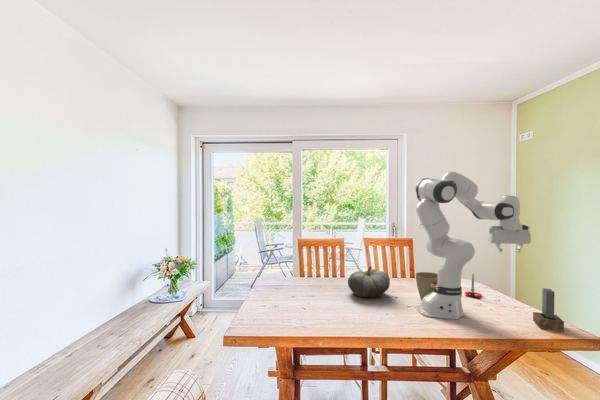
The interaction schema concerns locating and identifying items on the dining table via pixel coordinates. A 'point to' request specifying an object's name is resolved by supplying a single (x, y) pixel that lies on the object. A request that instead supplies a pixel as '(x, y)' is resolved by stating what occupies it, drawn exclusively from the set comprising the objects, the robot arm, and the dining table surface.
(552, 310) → the gray rectangular bar
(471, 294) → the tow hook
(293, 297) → the dining table surface
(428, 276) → the plant pot
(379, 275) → the gourd
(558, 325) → the brown square socket block
